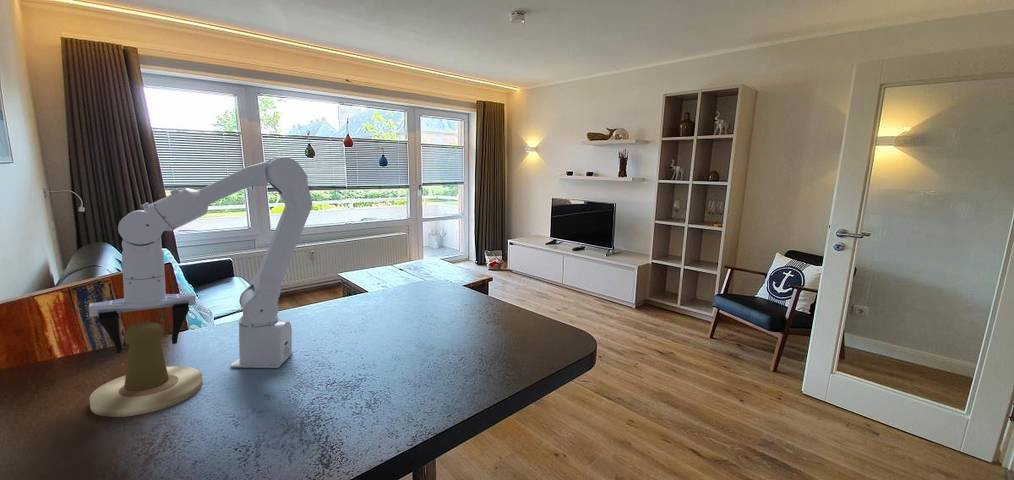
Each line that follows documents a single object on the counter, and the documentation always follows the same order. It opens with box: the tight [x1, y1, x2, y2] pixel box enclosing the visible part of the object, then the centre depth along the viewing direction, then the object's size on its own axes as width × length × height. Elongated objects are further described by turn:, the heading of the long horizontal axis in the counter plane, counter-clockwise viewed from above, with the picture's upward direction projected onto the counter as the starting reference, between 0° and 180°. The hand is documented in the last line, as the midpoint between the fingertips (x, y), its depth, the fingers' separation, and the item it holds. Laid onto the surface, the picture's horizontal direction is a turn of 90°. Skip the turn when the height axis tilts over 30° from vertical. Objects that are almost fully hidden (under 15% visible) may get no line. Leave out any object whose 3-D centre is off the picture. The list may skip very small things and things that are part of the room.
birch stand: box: [88, 365, 203, 418], centre depth 72 cm, size 15×15×2 cm
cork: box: [124, 321, 169, 391], centre depth 72 cm, size 6×6×11 cm
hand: (147, 346), depth 76 cm, fingers open, 7 cm apart
